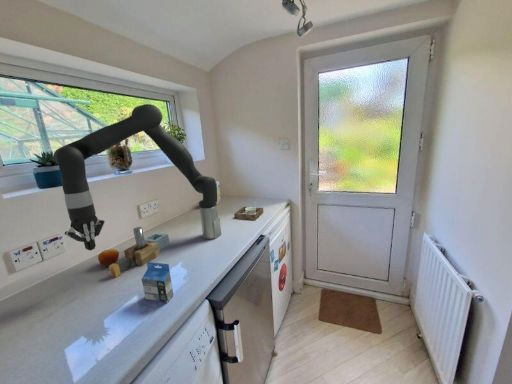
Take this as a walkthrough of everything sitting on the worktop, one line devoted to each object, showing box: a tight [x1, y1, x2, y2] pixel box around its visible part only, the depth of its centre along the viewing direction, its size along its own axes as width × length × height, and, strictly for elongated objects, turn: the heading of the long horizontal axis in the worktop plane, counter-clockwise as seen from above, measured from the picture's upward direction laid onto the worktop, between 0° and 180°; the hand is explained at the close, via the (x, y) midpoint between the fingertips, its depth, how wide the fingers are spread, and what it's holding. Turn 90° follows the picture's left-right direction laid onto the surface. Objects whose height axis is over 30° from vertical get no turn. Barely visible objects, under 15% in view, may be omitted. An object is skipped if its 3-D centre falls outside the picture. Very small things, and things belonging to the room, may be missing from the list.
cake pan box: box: [216, 181, 221, 205], centre depth 182 cm, size 19×5×18 cm, turn 168°
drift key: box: [108, 258, 133, 278], centre depth 96 cm, size 3×8×5 cm, turn 158°
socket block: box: [123, 241, 161, 267], centre depth 106 cm, size 10×10×6 cm
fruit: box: [97, 248, 120, 268], centre depth 102 cm, size 8×8×8 cm
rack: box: [144, 232, 170, 251], centre depth 117 cm, size 9×9×6 cm
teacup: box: [244, 206, 256, 214], centre depth 156 cm, size 10×10×5 cm
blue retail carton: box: [141, 261, 174, 303], centre depth 77 cm, size 9×4×12 cm, turn 77°
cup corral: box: [233, 206, 264, 221], centre depth 155 cm, size 15×15×4 cm
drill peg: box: [132, 226, 146, 250], centre depth 104 cm, size 4×4×15 cm
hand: (91, 249), depth 84 cm, fingers closed
